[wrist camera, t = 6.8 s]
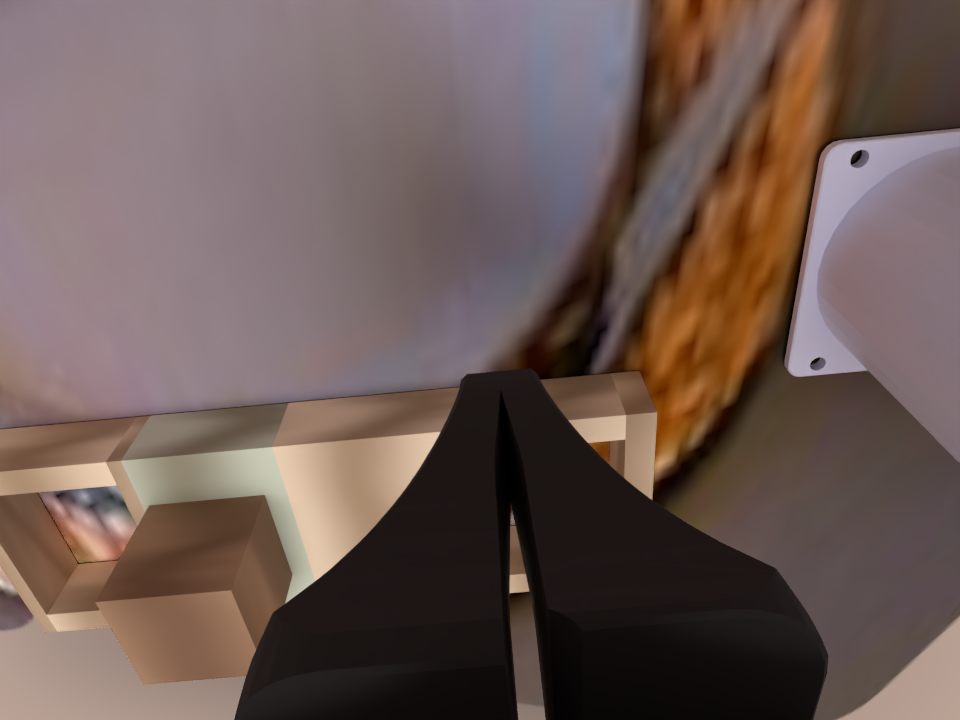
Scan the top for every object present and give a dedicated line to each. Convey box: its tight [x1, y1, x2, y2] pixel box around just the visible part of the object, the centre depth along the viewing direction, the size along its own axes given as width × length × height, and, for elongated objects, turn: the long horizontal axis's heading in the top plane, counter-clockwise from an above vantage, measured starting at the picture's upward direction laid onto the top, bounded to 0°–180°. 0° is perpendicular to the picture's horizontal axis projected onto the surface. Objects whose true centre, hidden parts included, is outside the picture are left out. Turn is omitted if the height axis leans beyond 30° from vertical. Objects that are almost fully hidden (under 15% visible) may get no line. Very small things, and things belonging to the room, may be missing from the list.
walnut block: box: [95, 495, 292, 684], centre depth 22 cm, size 4×4×4 cm
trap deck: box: [0, 371, 657, 633], centre depth 25 cm, size 24×8×2 cm, turn 95°
